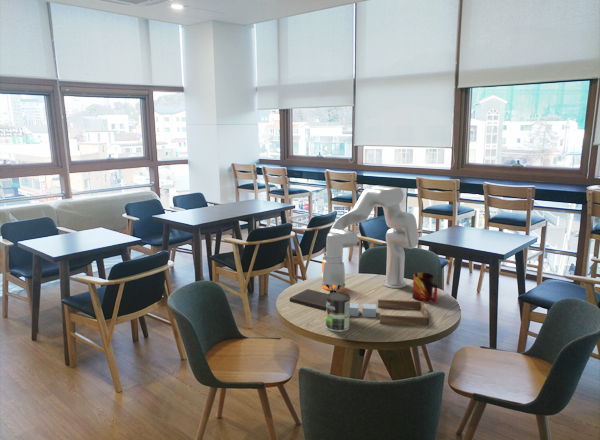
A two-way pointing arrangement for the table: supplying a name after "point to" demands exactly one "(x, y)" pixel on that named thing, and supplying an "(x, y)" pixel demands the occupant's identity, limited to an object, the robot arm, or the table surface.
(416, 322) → the frame
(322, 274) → the orange juice
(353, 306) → the tile
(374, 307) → the tile
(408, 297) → the table surface
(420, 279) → the mug
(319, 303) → the hardcover book
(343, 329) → the coffee can
